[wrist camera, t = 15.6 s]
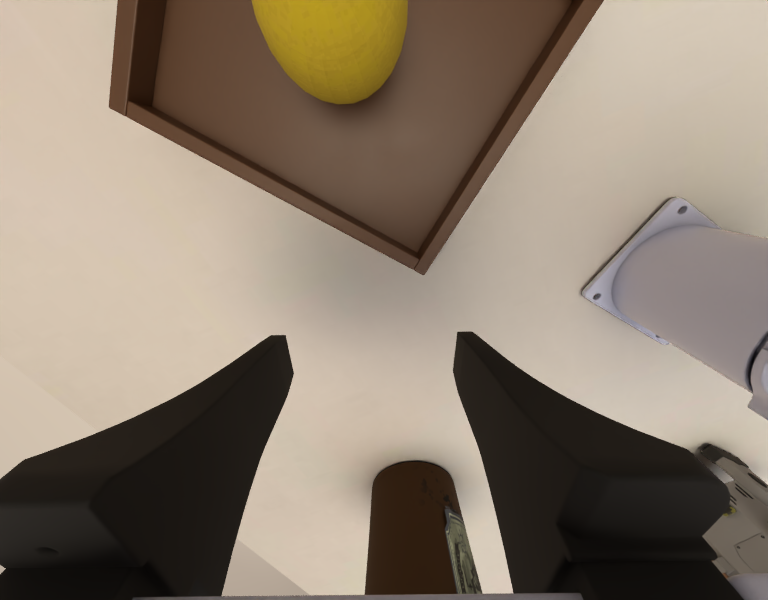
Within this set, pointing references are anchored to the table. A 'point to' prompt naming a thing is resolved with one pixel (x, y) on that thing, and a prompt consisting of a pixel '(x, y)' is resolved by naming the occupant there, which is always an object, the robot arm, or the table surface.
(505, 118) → the tray
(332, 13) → the lemon
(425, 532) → the olive oil
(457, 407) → the table surface
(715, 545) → the figurine
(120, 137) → the table surface
